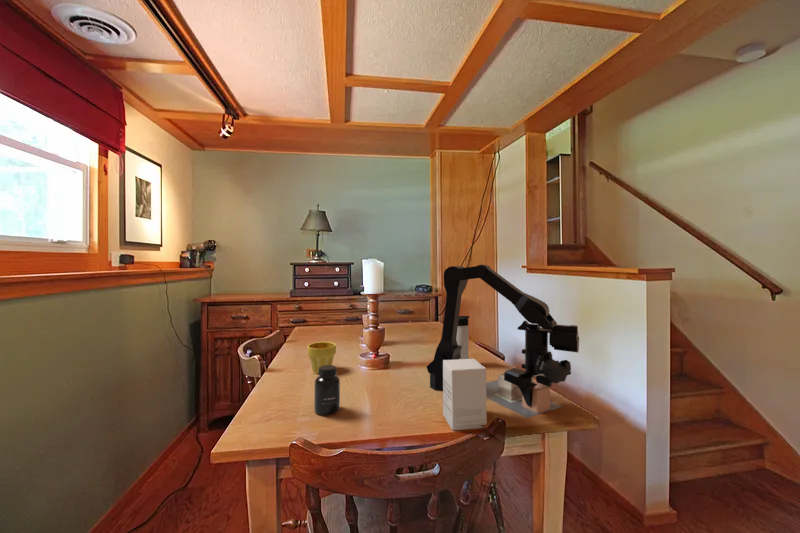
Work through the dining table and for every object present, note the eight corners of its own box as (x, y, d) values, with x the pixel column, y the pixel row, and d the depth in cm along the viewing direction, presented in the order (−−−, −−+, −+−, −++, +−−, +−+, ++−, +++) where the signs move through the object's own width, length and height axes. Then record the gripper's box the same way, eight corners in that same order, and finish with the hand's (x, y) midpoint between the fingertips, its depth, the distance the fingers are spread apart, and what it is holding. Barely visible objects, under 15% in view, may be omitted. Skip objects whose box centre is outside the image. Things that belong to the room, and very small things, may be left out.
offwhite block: (511, 400, 97) (511, 379, 97) (498, 394, 102) (498, 374, 102) (523, 397, 100) (523, 376, 100) (510, 391, 104) (510, 372, 104)
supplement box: (474, 412, 92) (474, 357, 92) (487, 428, 83) (487, 368, 83) (442, 414, 91) (442, 359, 91) (451, 431, 82) (451, 369, 82)
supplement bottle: (327, 418, 89) (327, 372, 89) (309, 412, 92) (308, 368, 92) (345, 408, 95) (344, 365, 94) (327, 403, 98) (326, 362, 98)
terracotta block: (537, 413, 89) (537, 390, 89) (522, 406, 94) (522, 384, 94) (549, 409, 92) (550, 387, 92) (534, 402, 96) (534, 381, 96)
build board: (526, 421, 87) (526, 417, 87) (466, 390, 108) (466, 386, 108) (562, 410, 94) (562, 406, 94) (498, 382, 115) (498, 379, 115)
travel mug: (470, 370, 128) (470, 317, 127) (453, 370, 128) (453, 317, 127) (467, 365, 134) (467, 314, 134) (450, 365, 134) (451, 314, 134)
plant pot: (332, 375, 122) (332, 348, 122) (304, 375, 122) (304, 348, 122) (338, 366, 132) (338, 341, 132) (311, 366, 132) (311, 341, 132)
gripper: (537, 359, 81) (537, 424, 81) (585, 349, 90) (585, 408, 90) (502, 348, 91) (502, 406, 91) (549, 340, 100) (549, 393, 100)
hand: (535, 403), depth 93 cm, fingers closed on terracotta block, 5 cm apart
